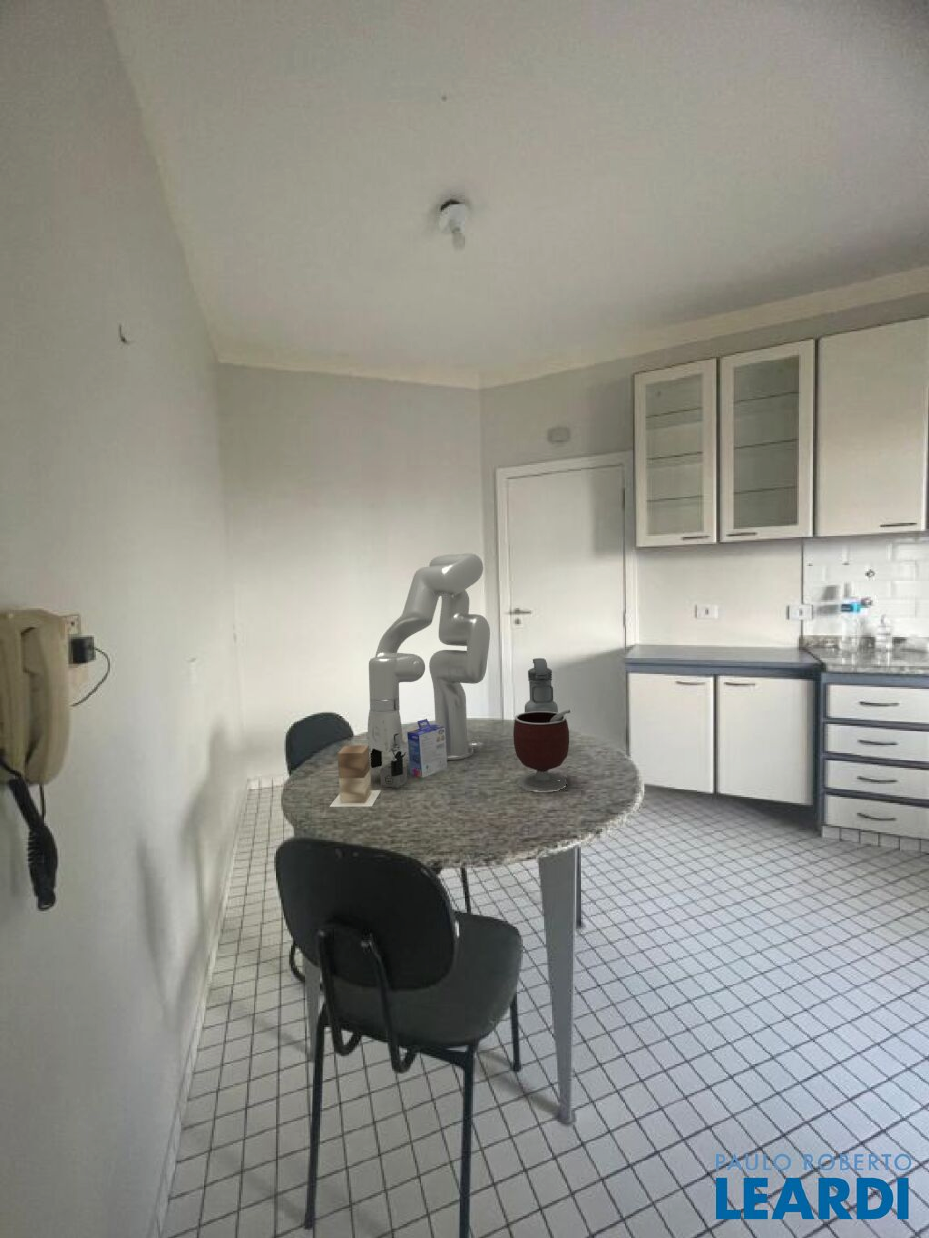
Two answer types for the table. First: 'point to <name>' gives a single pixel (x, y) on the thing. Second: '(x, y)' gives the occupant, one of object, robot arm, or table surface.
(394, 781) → the grey marked cube
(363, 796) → the beech block
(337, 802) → the stone coaster
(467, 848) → the table surface
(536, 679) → the water bottle
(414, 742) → the ink cartridge box
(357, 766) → the walnut block
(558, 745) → the mate gourd
